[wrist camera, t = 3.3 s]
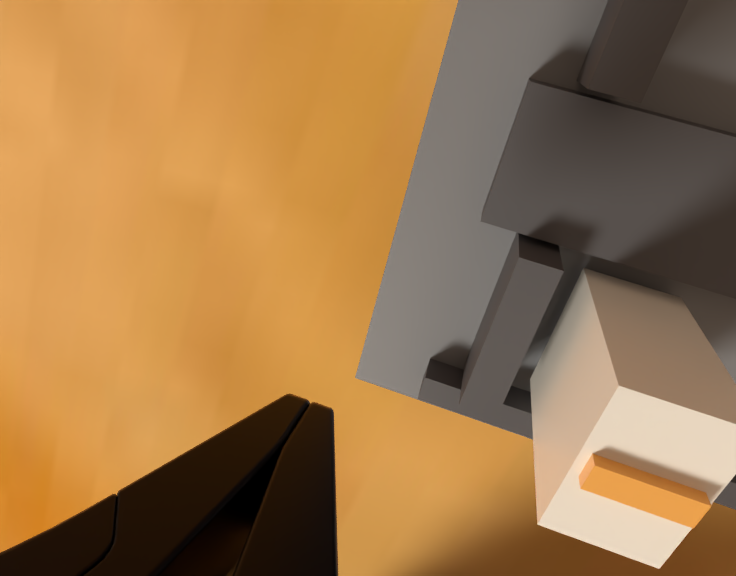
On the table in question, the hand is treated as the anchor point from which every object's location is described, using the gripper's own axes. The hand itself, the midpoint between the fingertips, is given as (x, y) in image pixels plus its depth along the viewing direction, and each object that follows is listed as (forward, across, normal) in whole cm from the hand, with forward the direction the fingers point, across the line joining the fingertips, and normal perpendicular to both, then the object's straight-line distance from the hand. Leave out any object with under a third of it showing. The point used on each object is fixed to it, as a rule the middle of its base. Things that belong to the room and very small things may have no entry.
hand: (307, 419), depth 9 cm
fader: (+6, -6, 0) cm, 9 cm away
